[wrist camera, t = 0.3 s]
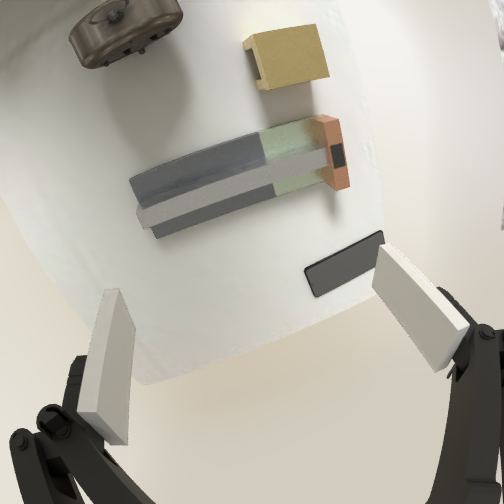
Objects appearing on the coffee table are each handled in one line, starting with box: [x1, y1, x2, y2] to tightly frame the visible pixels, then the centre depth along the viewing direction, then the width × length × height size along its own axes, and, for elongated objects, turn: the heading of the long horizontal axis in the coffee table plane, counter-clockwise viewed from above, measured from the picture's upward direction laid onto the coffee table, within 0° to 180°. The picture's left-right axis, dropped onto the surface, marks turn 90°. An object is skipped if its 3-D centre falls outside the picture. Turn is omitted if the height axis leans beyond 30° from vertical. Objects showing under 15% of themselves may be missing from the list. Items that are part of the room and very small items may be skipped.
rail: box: [129, 114, 350, 239], centre depth 36 cm, size 26×9×5 cm, turn 106°
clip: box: [243, 24, 330, 90], centre depth 29 cm, size 7×6×6 cm
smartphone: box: [304, 230, 385, 297], centre depth 50 cm, size 7×1×15 cm
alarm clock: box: [69, 0, 183, 69], centre depth 20 cm, size 11×5×16 cm, turn 113°
